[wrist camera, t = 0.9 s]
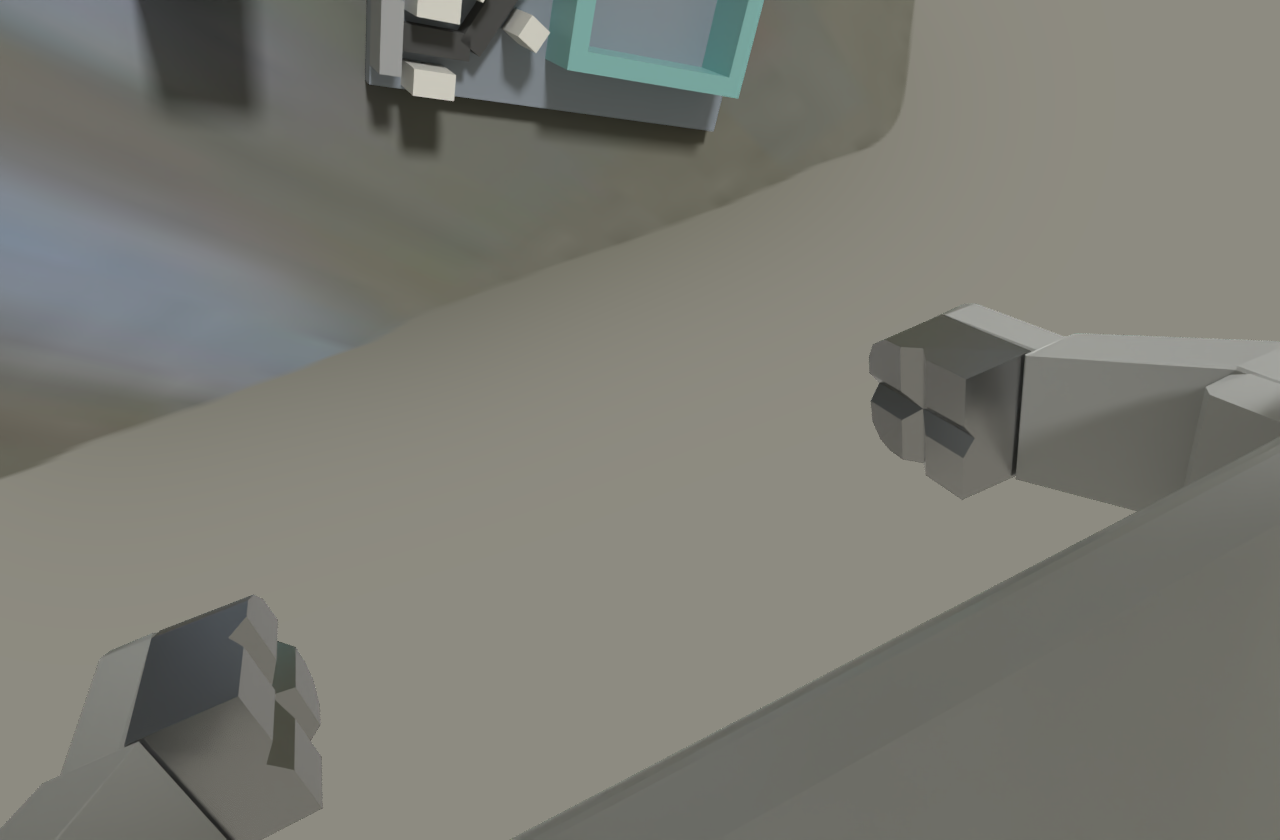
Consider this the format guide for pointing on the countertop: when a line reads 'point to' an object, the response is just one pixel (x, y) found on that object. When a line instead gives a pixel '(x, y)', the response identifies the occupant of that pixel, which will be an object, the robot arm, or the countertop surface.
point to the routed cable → (458, 32)
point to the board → (519, 73)
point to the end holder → (716, 75)
